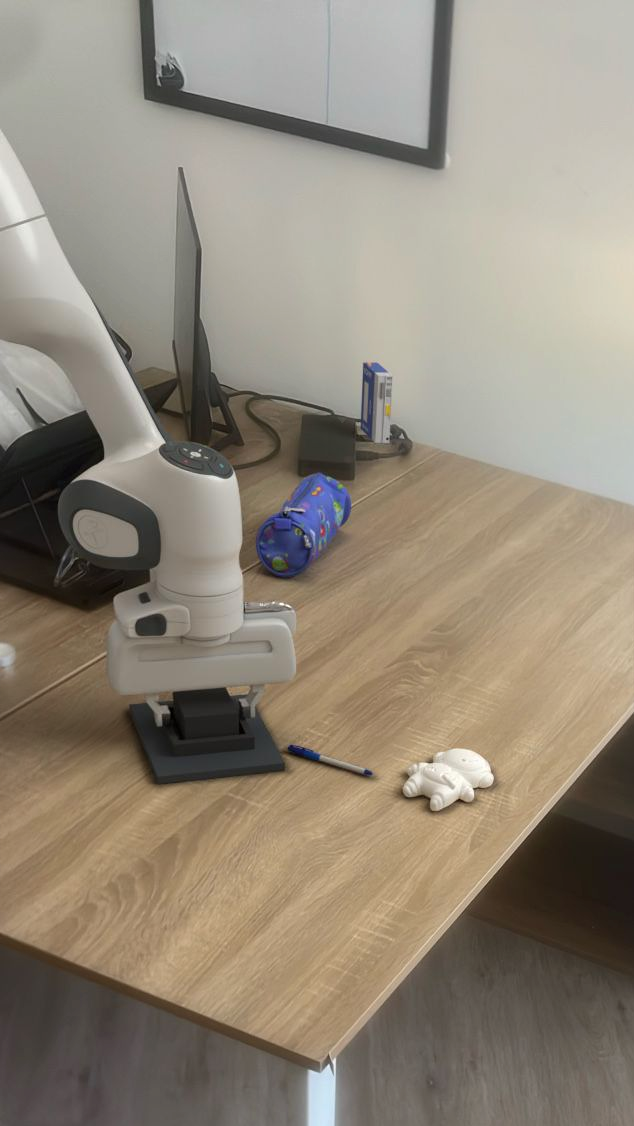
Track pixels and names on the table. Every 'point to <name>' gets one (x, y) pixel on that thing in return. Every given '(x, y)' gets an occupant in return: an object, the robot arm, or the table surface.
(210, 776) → the socket base plate
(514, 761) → the table surface
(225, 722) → the black box
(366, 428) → the walkman
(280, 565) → the pencil case
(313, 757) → the ballpoint pen
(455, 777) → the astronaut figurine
